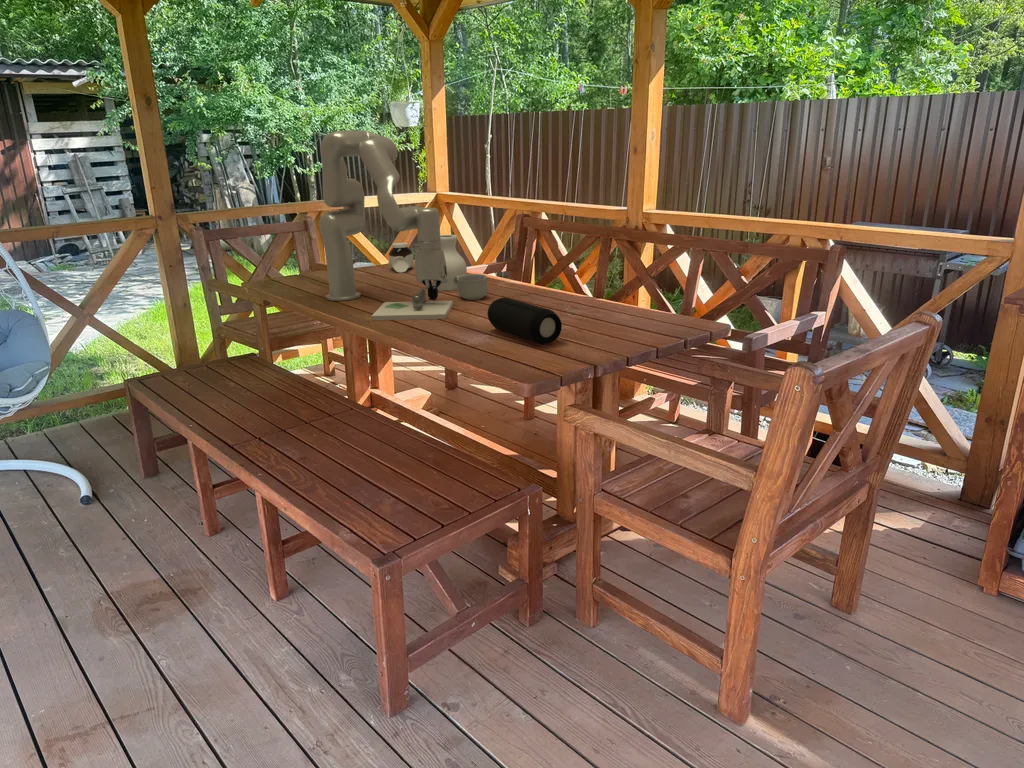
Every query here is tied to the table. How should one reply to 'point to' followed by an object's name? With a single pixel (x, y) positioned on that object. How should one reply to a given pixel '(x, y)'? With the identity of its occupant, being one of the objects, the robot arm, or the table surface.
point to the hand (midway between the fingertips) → (433, 299)
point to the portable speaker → (525, 320)
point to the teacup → (471, 286)
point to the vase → (451, 262)
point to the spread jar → (400, 257)
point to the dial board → (413, 310)
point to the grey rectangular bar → (419, 299)
